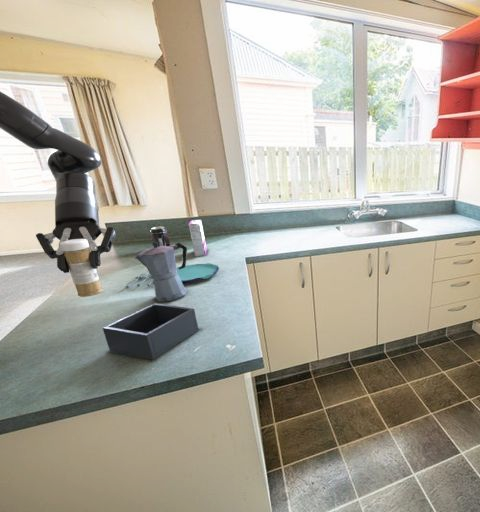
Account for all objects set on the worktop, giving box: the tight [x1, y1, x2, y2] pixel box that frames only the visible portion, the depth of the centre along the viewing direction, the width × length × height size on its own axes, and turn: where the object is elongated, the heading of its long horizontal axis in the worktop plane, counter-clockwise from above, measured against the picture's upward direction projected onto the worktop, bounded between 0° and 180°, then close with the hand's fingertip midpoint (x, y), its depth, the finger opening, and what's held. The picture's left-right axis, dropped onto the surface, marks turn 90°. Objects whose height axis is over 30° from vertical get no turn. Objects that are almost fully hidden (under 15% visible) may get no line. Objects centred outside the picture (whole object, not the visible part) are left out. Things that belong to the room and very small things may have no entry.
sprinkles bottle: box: [60, 239, 104, 298], centre depth 70 cm, size 5×5×13 cm
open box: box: [102, 302, 199, 360], centre depth 78 cm, size 14×14×7 cm
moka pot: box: [134, 242, 188, 303], centre depth 102 cm, size 10×15×20 cm, turn 155°
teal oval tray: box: [125, 262, 220, 289], centre depth 120 cm, size 20×30×2 cm, turn 109°
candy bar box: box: [187, 219, 208, 257], centre depth 149 cm, size 11×5×16 cm, turn 26°
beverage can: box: [150, 226, 171, 247], centre depth 155 cm, size 7×7×12 cm
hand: (80, 268), depth 68 cm, fingers closed on sprinkles bottle, 4 cm apart
